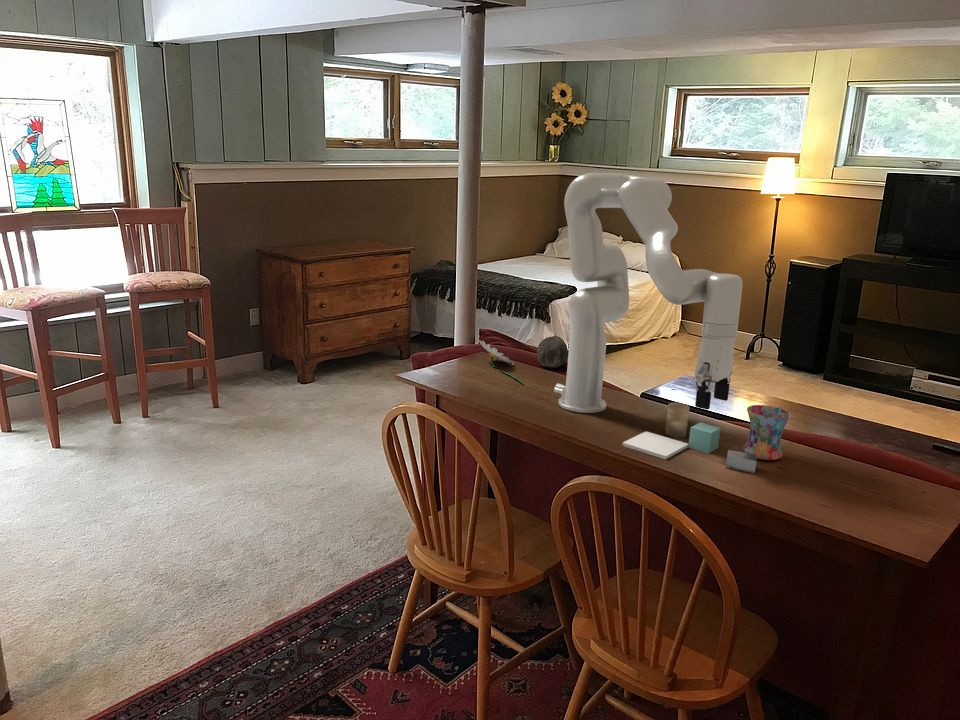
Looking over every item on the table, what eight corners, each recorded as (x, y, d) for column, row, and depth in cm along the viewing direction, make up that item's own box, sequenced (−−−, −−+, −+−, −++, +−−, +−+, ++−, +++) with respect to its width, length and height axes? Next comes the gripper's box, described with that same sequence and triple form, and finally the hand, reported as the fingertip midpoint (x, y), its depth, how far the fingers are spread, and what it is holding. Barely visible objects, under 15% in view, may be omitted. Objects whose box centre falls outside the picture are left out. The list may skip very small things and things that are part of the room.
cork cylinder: (661, 432, 184) (664, 405, 182) (670, 428, 188) (674, 401, 186) (680, 438, 181) (683, 410, 179) (689, 433, 185) (693, 406, 183)
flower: (514, 366, 214) (476, 331, 239) (502, 382, 214) (466, 345, 240) (545, 387, 220) (505, 351, 246) (534, 402, 221) (496, 364, 246)
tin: (725, 469, 165) (727, 456, 164) (726, 462, 168) (728, 450, 167) (754, 474, 163) (756, 461, 162) (754, 467, 166) (756, 454, 166)
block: (688, 447, 176) (690, 427, 174) (697, 442, 179) (700, 422, 178) (708, 453, 173) (711, 433, 171) (717, 448, 176) (720, 427, 175)
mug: (768, 466, 167) (775, 420, 164) (732, 452, 174) (738, 408, 171) (798, 456, 174) (806, 412, 171) (762, 443, 181) (769, 400, 178)
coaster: (622, 445, 174) (622, 442, 174) (645, 434, 182) (646, 431, 182) (665, 459, 168) (666, 456, 167) (688, 447, 176) (688, 443, 175)
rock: (542, 368, 232) (546, 336, 231) (530, 363, 243) (534, 332, 242) (572, 371, 235) (576, 339, 234) (559, 366, 246) (563, 335, 245)
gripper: (719, 322, 177) (712, 392, 181) (686, 332, 165) (678, 407, 169) (751, 327, 173) (742, 399, 177) (719, 338, 160) (711, 415, 164)
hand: (711, 403), depth 173 cm, fingers open, 9 cm apart
